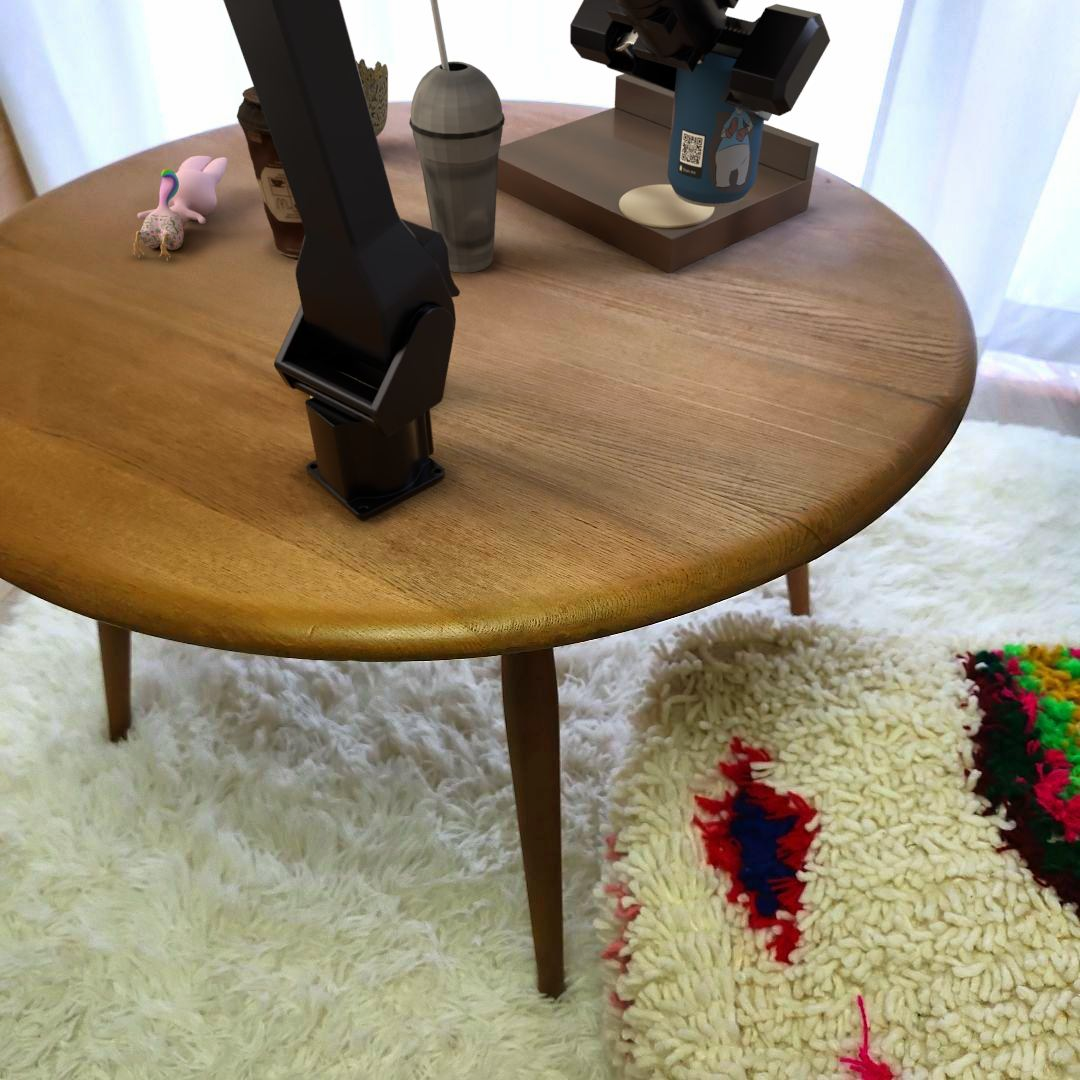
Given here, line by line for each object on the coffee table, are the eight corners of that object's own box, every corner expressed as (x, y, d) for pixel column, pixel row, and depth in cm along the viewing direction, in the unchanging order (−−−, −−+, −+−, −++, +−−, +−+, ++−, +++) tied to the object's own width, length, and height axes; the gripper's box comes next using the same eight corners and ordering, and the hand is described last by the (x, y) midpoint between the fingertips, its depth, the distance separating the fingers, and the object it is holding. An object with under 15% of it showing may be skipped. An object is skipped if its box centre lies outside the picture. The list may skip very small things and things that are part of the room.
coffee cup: (373, 257, 86) (353, 98, 77) (275, 275, 84) (242, 114, 75) (348, 215, 92) (327, 63, 83) (255, 231, 90) (224, 76, 81)
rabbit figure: (192, 276, 87) (254, 176, 96) (169, 215, 82) (236, 116, 91) (124, 270, 88) (191, 172, 97) (97, 209, 83) (171, 112, 92)
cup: (411, 148, 103) (403, 64, 98) (364, 173, 99) (353, 88, 94) (354, 133, 106) (343, 52, 101) (306, 157, 102) (292, 73, 96)
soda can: (697, 168, 86) (714, 11, 78) (769, 190, 82) (794, 29, 74) (648, 194, 82) (661, 32, 74) (722, 218, 78) (743, 51, 70)
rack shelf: (669, 273, 84) (675, 203, 80) (485, 182, 97) (482, 118, 93) (807, 209, 93) (819, 143, 88) (621, 134, 106) (624, 73, 102)
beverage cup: (498, 284, 83) (487, 16, 69) (411, 276, 84) (384, 10, 70) (517, 243, 88) (511, -14, 74) (435, 236, 89) (415, -18, 76)
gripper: (844, -132, 59) (895, 32, 73) (601, -167, 69) (685, -16, 82) (747, 43, 60) (815, 173, 74) (521, -15, 70) (617, 109, 83)
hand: (730, 103), depth 78 cm, fingers closed on soda can, 7 cm apart
